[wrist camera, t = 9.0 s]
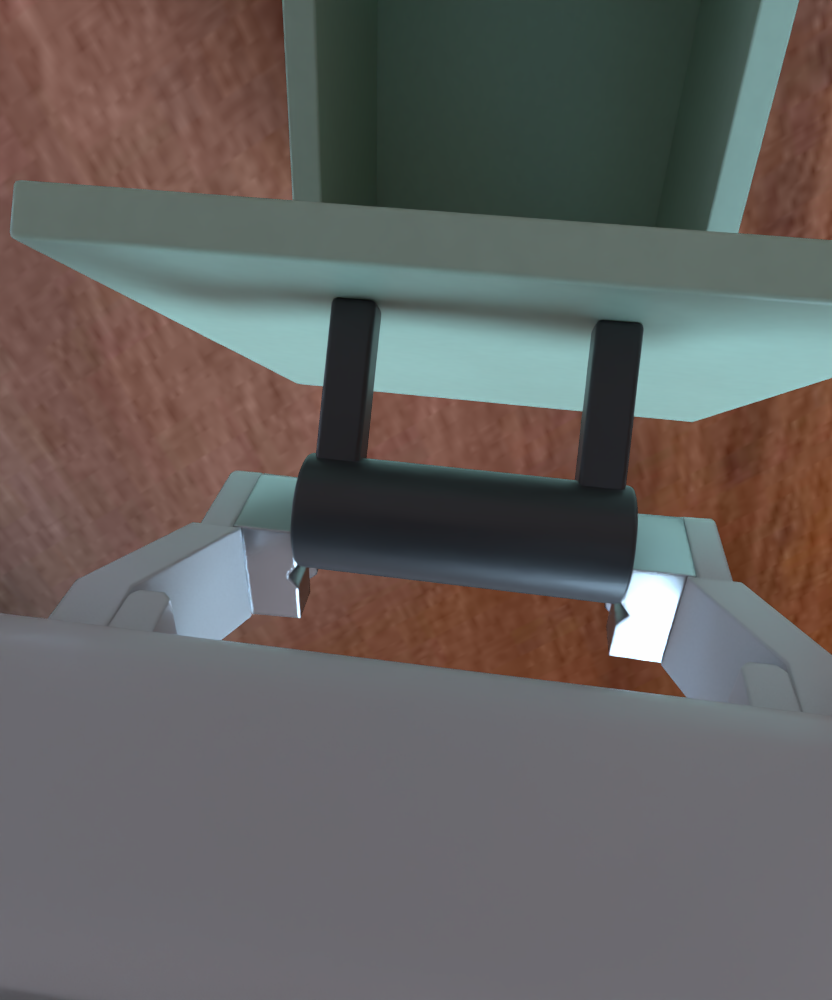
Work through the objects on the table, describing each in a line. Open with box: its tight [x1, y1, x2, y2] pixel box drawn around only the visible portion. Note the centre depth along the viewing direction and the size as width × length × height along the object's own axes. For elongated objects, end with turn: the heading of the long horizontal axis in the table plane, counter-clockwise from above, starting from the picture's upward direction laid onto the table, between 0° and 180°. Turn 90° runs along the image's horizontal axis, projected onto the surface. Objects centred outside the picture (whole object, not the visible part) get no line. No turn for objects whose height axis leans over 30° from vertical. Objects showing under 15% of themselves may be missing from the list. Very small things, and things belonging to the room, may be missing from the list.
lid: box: [10, 180, 832, 604], centre depth 18 cm, size 16×13×5 cm
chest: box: [282, 0, 799, 233], centre depth 26 cm, size 15×13×10 cm
